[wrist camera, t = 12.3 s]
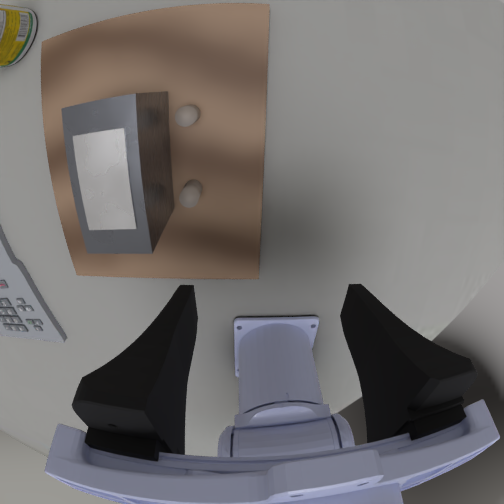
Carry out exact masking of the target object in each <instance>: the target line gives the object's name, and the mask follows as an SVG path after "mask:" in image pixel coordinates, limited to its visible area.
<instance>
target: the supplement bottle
mask: <svg viewBox="0 0 504 504" xmlns="http://www.w3.org/2000/svg"><path fill="white" fill-rule="evenodd" d="M36 26H37V22H36V16H35V14H34V13H33V11H31V10H30V9H27V8H23V7H16V6H9V5H2V4H0V67H6V66H10V65H13V64H15V63H16V62H17V61H19V60H20V59H21V58H22V57H23V56H24V54H25V53H26V52H27V50H28V49H29V47H30V45H31V43H32V41H33V39H34V36H35V32H36Z"/></svg>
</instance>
